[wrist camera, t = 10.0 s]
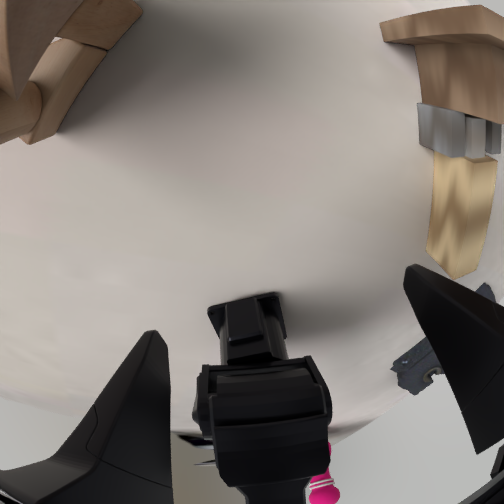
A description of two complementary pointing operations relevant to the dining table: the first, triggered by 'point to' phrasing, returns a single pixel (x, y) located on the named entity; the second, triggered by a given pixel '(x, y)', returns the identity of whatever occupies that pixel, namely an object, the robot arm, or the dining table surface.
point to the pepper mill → (323, 488)
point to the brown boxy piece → (455, 73)
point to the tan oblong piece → (462, 203)
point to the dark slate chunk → (424, 360)
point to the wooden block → (52, 58)
